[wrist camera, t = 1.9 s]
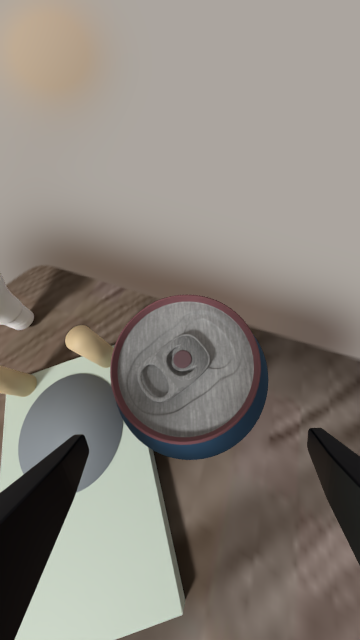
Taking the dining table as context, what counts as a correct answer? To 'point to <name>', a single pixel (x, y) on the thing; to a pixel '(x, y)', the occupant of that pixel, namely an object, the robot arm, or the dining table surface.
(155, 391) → the soda can
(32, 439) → the board
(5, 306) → the lightbulb
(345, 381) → the dining table surface
